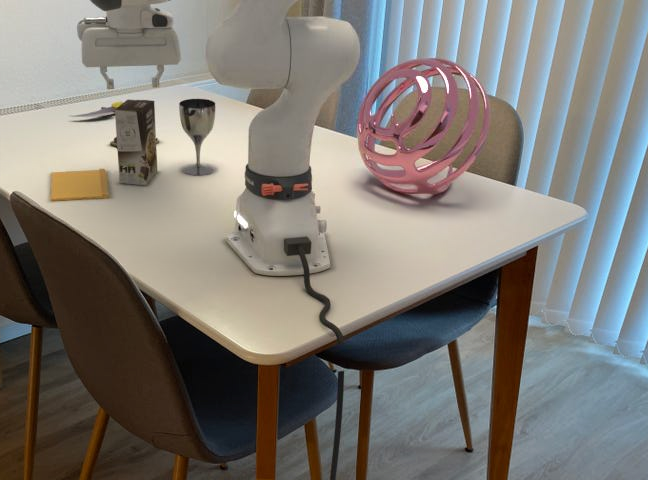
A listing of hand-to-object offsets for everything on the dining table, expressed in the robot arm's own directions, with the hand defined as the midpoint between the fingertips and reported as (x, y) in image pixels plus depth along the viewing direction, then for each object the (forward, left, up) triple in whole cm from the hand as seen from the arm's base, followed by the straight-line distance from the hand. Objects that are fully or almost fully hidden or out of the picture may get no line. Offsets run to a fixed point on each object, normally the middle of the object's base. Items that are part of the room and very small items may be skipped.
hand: (133, 87), depth 162 cm
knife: (+50, +3, -20) cm, 54 cm away
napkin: (-3, +13, -20) cm, 24 cm away
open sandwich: (+24, -1, -20) cm, 31 cm away
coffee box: (0, 0, -20) cm, 20 cm away
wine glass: (+3, -14, -20) cm, 24 cm away
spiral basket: (-15, -58, -20) cm, 63 cm away
